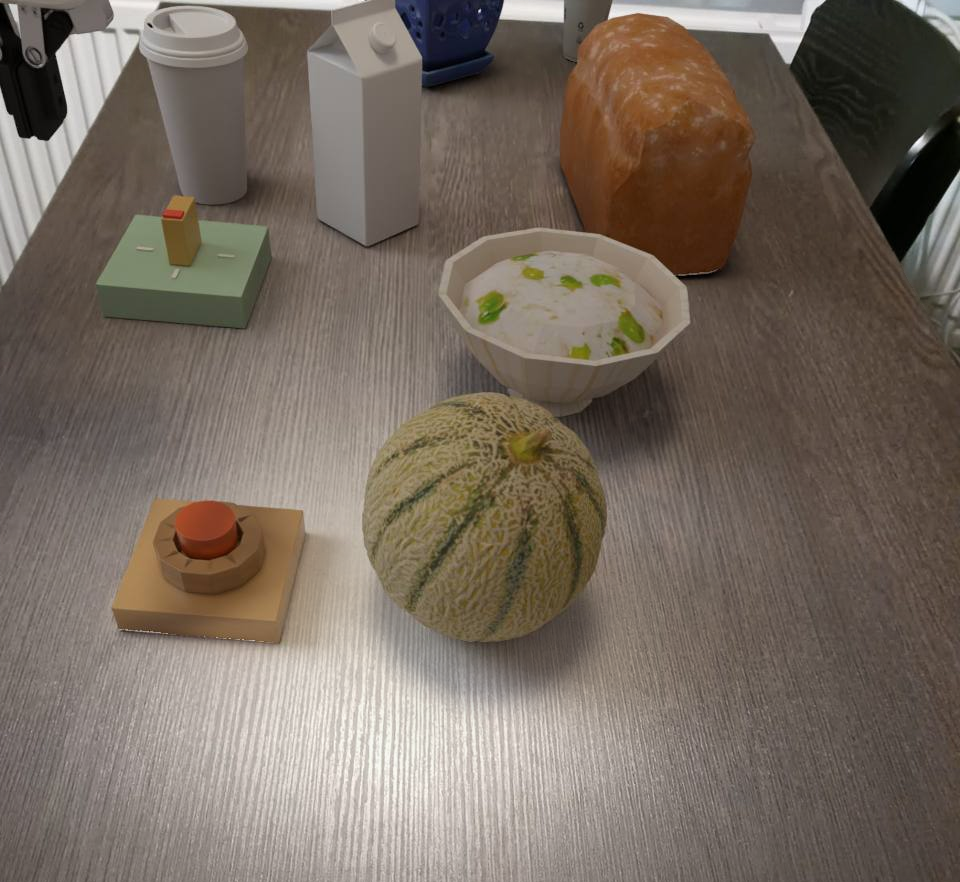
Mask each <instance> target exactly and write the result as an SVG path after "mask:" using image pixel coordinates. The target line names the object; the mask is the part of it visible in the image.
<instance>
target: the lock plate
mask: <svg viewBox="0 0 960 882" xmlns="http://www.w3.org/2000/svg"><path fill="white" fill-rule="evenodd" d="M161 218H162V216H155V215H145V214H144V215H143V214H134V217H133V218H132V220H131V222H130V224H129V225H128V227H127V229H126V231H125V232H124V234H123V235H122V237H121V239H120V241H119V243H118V244H117V246H116V248H115V249H114V251H113V253H112V255H111V257H110V258H109V260H108V262H107V263H106V265H105V267H104V269H103V271H102V272H101V274H100V276H99V277H98V279H97V281H96V283H95V288H96V292H97V295H98V300H99V303H100V307H101V311H102V316H103V317H106V318H117V319H128V320H139V321H151V322H163V323H175V324H184V325H185V324H187V325H197V326H209V327H219V328H220V327H222V328H232V329H243V330H244V329H246V328H247V325H248V322H249V321H250V317H251V314H252V312H253V309H254V306H255V304H256V301H257V298H258V296H259V292H260V290H261V287H262V284H263V282H264V279H265V276H266V274H267V271H268V268H269V265H270V263H271V261H272V260H271V259H272V248H271V237H270V229H269V226H268V225H256V224H246V223H235V222H225V221H224V222H223V221H214V220H213V221H211V220H202V219H201V220H199V219H198V222H199V228H200V234H201V241H202V242H201V244H200V246H199V249H198V251H197V253H196V255H195V257H194V259H193V261H192V264H191V266H183V265H171V264H169V259H168V254H167V248H166V243H165V238H164V232H163V227H162V222H161Z"/></svg>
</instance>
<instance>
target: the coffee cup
mask: <svg viewBox="0 0 960 882" xmlns="http://www.w3.org/2000/svg"><path fill="white" fill-rule="evenodd" d="M238 26H239V25H238V23H237V21H236V18H235V17H234V16H233V15H231V14H230V13H228V12H227V11H224V10H223V9H222V10H221V9H218V8H214V7H211V6H210V7H209V6H203V5H202V6H201V5H176V6H168V7H164V8H160V9H157V10H155V11H152V12H151V13H148V14H147V16H145V18H144V22H143V29H142V31H141V32H140V37H139V41H138V43H139V45H138V50H139V52H140V54H141V55H143V57H145V58H146V61H147V65H148V68H149V72H150V75H151V80H152V83H153V87H154V91H155V95H156V98H157V102H158V106H159V110H160V114H161V118H162V122H163V126H164V130H165V134H166V138H167V141H168V145H169V149H170V154H171V158H172V161H173V165H174V170H175V173H176V177H177V181H178V184H179V189H180V192H181V195H182V196H187V197H194V198H195V203H196V204H199V205H200V204H201V205H205V206H206V205H209V206H217V205H218V206H219V205H226V204H231V203H235V202H236V201H239V200H240V199H242V198H243V197H245V196H246V194H247V193H248V175H247V174H248V173H247V172H248V171H247V170H248V169H247V141H246V137H247V136H246V108H245V107H246V105H245V104H246V103H245V71H244V69H245V66H244V62H245V61H244V57H245V56H246V54H247V53H248V51H249V45H248V42H247V39H246V37H245V36H244V33H243V31H242V30H241V29H240V28H239V27H238Z"/></svg>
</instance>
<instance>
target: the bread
mask: <svg viewBox="0 0 960 882" xmlns="http://www.w3.org/2000/svg"><path fill="white" fill-rule="evenodd" d="M562 105H563V107H562V114H561V123H560V131H559V138H558V139H559V142H558V143H559V162H560V163H559V165H560V168H561V170H562V172H563V174H564V177H565V180H566V182H567V186H568V188H569V191H570V193H571V196H572V199H573V202H574V203H575V206H576V209H577V213H578V214H579V215H578V216H579V217H580V219H581V222H582V223H581V224H582V225H583V229H584V233H593V234H600V235H603V236H605V237H608V238H610V239H613V240H616V241H618V242H621V243H623V244H626V245H628V246H631V247H633V248H636V249H638V250H641V251H643V252H646V253H648V254H651V255H653V256H654V257H655V258H657V259H658V260H659V261H660V262H661V263H662V264H663V265H664V266H665V267H666V268H667V269H668V270H669V271H670V272H671V273H672V274H673V275H678V274H689V273H699V272H710V271H714V270H717V269H720V268H723V267H724V268H725V265H726V263H727V260H728V258H729V255H730V253H731V251H732V249H733V246H734V243H735V241H736V239H737V236H738V234H739V231H740V226H741V221H742V217H743V213H744V210H745V206H746V203H747V202H746V201H747V197H748V193H749V189H750V185H751V182H752V177H753V168H752V167H753V166H752V163H751V159H750V155H749V154H750V152H751V150H752V148H753V146H754V143H755V141H756V139H757V136H756V134H755V131H754V128H753V125H752V124H751V121H750V118H749V116H748V114H747V112H746V109H745V107H743V106H741V104H740V102H739V100H738V98H737V94H736V91H735V89H734V87H733V86H732V85H731V83H730V81H729V80H728V78H727V76H726V75H725V72H724V71H723V69H722V68H721V66H720V65H719V64H718V62H717V60H716V59H715V58H714V56H713V55H712V54H711V53H710V51H709V50H708V49H707V48H706V46H705V45H704V44H702V43H701V42H699V41H698V40H696V39H695V37H694V36H693V35H692V34H691V33H690V32H689V31H688V29H687V28H686V27H685V26H684V25H682V24H681V23H678V22H677V21H675V20H674V19H672V18H670V17H668V16H663V15H656V14H649V13H642V12H641V13H640V12H636V13H630V14H626V15H621V16H615V17H611V18H608V20H607V21H604V22H602V23H600V24H598V25H596V26H595V27H594V29H593V30H592V31H591V32H590V33H589V35H588V36H587V37H586V38H585V40H584V41H583V42H582V43H581V44H580V46H579V47H578V57H577V63H576V65H575V66H574V67H573V69H572V70H571V72H570V73H569V74H568V78H567V82H566V87H565V92H564V98H563V104H562ZM724 268H723V269H724Z"/></svg>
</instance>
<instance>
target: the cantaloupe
mask: <svg viewBox="0 0 960 882" xmlns="http://www.w3.org/2000/svg"><path fill="white" fill-rule="evenodd" d="M603 486H604V485H603V484H602V482H601V480H600V477H599V472H598V469H597V466H596V463H595V461H594V459H593V457H592V455H591V453H590V451H589V449H588V447H587V446H586V445H585V444H584V442H582V440H581V439H580V437H579V435H578V434H577V433H576V432H574V430H572V429H570V428H569V427H568V426H566V425H565V424H564V423H562V422H561V421H560V420H559V419H558V417H556V416H553V415H552V414H551V413H550V412H549V411H548V410H546V409H544V408H543V407H541V406H539V405H536V404H534V403H531V402H529V401H527V400H525V399H520V398H516V397H513V396H511V395H506V394H504V393H499V392H494V391H493V392H492V391H491V392H490V391H488V392H483V391H482V392H481V391H480V392H474V393H466V394H461V395H457V396H451V397H449V398H447V399H444V400H442V401H439V402H437V403H436V404H433V405H432V406H431V407H430V408H429V409H426V410H425V411H422V412H420V413H418V414H417V415H415V416H413V417H411V418H409V419H408V420H406V421H405V422H403V423H402V424H401V425H400V426H399V427H398V428H396V429H395V431H394V433H393V434H392V435H391V436H390V437H389V438H387V439H386V440H385V441H384V443H383V444H382V446H381V448H380V449H379V451H378V453H377V454H376V457H375V458H374V459H373V461H372V464H371V465H370V469H369V472H368V473H367V478H366V483H365V487H364V488H365V489H364V496H363V498H364V500H363V501H364V502H363V510H362V514H361V525H362V526H361V531H362V534H363V545H364V548H365V550H366V556H367V558H368V561H369V563H370V565H371V567H372V569H373V570H374V572H375V574H376V576H377V578H378V580H379V582H380V585H381V588H383V590H384V592H385V593H386V594H387V596H388V598H389V599H391V600H392V601H393V602H394V603H395V604H396V605H397V606H398V607H399V608H400V609H401V610H402V611H404V612H406V613H408V614H409V615H411V616H412V617H413V618H414V619H415V620H416V621H418V622H419V623H420V624H422V625H423V626H424V627H426V628H428V629H430V630H431V631H434V632H435V633H437V634H440V635H442V636H444V637H447V638H450V639H453V640H461V641H465V642H469V643H470V642H479V643H488V642H497V643H498V642H503V641H509V640H512V639H513V640H514V639H517V638H521V637H524V636H526V635H528V634H530V633H534V632H535V631H538V630H539V629H540V628H542V627H543V626H544V625H546V624H547V623H548V622H550V621H551V620H553V619H554V618H555V617H556V616H559V615H560V614H562V613H563V612H564V611H565V610H566V609H567V608H569V607H570V606H571V605H572V604H573V602H574V601H575V600H576V599H577V598H579V596H580V594H581V593H582V592H583V591H584V589H585V588H586V586H587V585H588V583H589V582H590V580H591V578H592V577H593V575H594V573H595V571H596V568H597V565H598V561H599V557H600V553H601V548H602V544H603V543H602V542H603V538H604V536H605V535H606V527H607V520H608V507H607V504H608V503H607V498H606V494H605V490H604V487H603Z"/></svg>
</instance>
